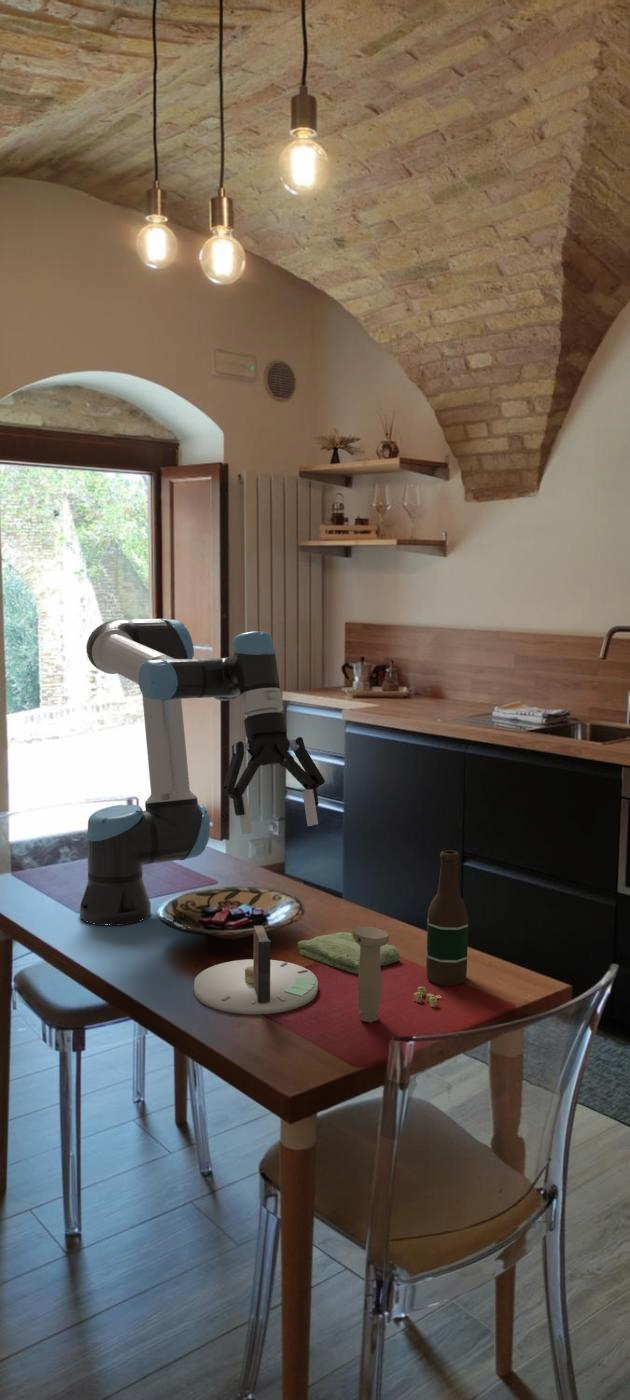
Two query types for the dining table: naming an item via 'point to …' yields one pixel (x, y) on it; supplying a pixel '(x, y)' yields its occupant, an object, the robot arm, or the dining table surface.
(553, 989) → the dining table surface
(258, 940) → the wooden panel and knob
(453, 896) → the beer bottle
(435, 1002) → the dice set
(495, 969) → the dining table surface
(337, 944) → the washcloth
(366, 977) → the handle
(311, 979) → the dial
